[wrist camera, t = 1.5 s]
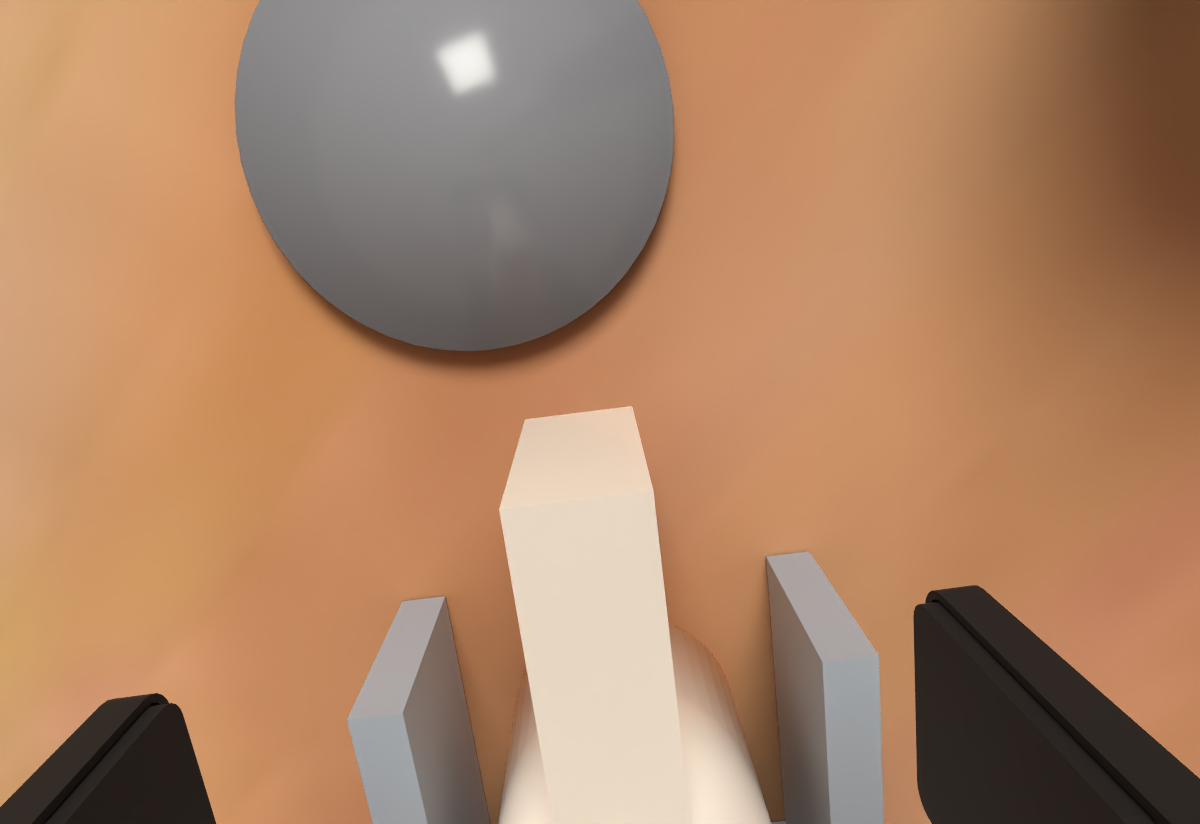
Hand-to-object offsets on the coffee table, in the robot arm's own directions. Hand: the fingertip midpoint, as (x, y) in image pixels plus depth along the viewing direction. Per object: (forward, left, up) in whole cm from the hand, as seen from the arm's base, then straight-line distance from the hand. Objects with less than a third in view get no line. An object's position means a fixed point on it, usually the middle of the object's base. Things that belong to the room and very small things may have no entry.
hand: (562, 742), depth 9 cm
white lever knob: (0, +4, -11) cm, 12 cm away
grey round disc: (+2, -8, -11) cm, 14 cm away
